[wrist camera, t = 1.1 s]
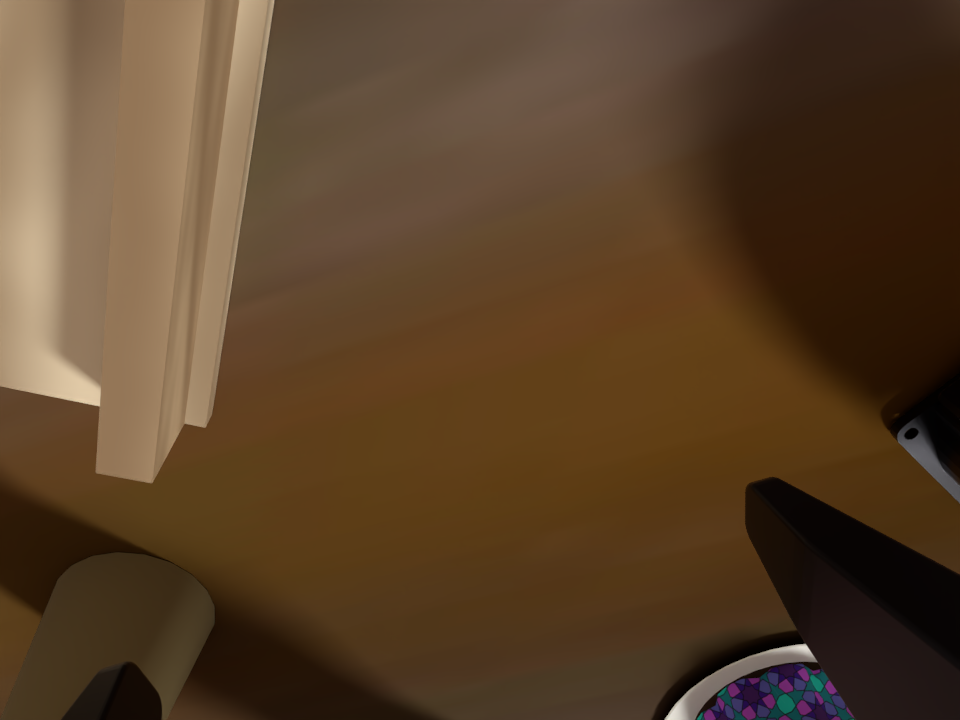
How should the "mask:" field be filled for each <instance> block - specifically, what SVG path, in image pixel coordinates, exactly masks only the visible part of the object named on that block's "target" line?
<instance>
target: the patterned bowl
mask: <svg viewBox="0 0 960 720" xmlns="http://www.w3.org/2000/svg"><path fill="white" fill-rule="evenodd" d="M792 662H817V660H816V659H815V657H814V656H813V654H812V653H811V651H810V650H809V648H808V647H807V645H806V644H798V645H792V646H787V647H781V648H776V649H771V650H768V651H765V652H761V653H758V654H755V655H752V656H748V657H746V658H744V659H741V660H739V661H737V662H734V663H732V664H730V665H727V666H725V667H724V668H722V669H720V670H718V671H717V672H715V673H713V674H711V675H710V676H708V677H706V678H705V679H703V680H702V681H701V682H699V683H698V684H697V685H695V686H694V687H693V688H691V689H690V690H689V691H688V692H687V693H686V694H685V695H684V696H683V697H682V698H681V699H680V700H679V701H678V702H677V703H676V704H675V705H674V707H673V708H672V709H671V711H670V712H669V714H668V715H667V717H666V718H665V720H695V719H696V717H697V714H698V712H699V711H700V710H701V708H702V707H703V706H704V704H705V703H706V702H707V701H708V700H709V699H710V698H711V697H712V696H713V695H714V694H715V693H716V692H718V691H719V690H720V689H722V688H723V687H724V686H726V685H727V684H729V683H731V682H733V681H734V680H736V679H738V678H740V677H742V676H744V675H747V674H749V673H751V672H754V671H756V670H760V669H763V668H766V667H770V666H774V665H779V664H784V663H792ZM697 720H855V718H854V717H853V715H852V714H851V712H850V711H849V709H848V707H847V706H846V704H845V703H844V701H843V700H842V698H841V697H840V695H839V694H838V692H837V691H836V689H835V688H834V686H833V685H832V683H831V682H830V680H829V679H828V677H827V676H826V674H825V673H824V671H823V670H822V669H820V670H815V671H812V670H811V669H809V668H808V667H806V666H805V665H803V664H786V665H782V666H778V667H774V668H771V669H770V670H769V671H767V672H766V673H765V674H763V675H762V676H761V677H760V678H748V679H740V680H738V681H736V682H734V683H732V684H730V685H728V686H727V687H725V688H724V689H723V690H722V691H721V692H720V693H719V694H718V695H717V701H716V705H715V706H713V707H711V708H710V709H708V710H706V711H704V712H702V713H701V714H700V716H699V717H698V719H697Z"/></svg>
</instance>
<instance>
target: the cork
mask: <svg viewBox="0 0 960 720" xmlns="http://www.w3.org/2000/svg"><path fill="white" fill-rule="evenodd" d="M214 624H215V606H214V604H213V602H212V600H211V598H210V596H209V594H208V591H207V590H206V589H205V588H204V587H203V586H202V585H201V584H200V583H199V582H198V581H197V579H196V578H195V577H194V576H193V575H192V574H190V573H188V572H186V571H185V570H183V569H181V568H179V567H178V566H176V565H174V564H172V563H171V562H168V561H165V560H161V559H158V558H155V557H152V556H148V555H145V554H134V553H122V552H115V553H108V554H102V555H95V556H91V557H89V558H87V559H84V560H82V561H80V562H78V563H75V564H73V565H71V566H70V567H69V568H68V569H67V570H66V571H65V572H64V573H63V574H62V575H61V576H60V577H59V578H58V580H57V582H56V585H55V587H54V590H53V592H52V594H51V597H50V599H49V602H48V604H47V607H46V609H45V611H44V614H43V616H42V619H41V621H40V624H39V626H38V629H37V631H36V633H35V636H34V638H33V641H32V643H31V646H30V648H29V650H28V653H27V655H26V658H25V660H24V663H23V665H22V667H21V670H20V672H19V675H18V677H17V680H16V682H15V685H14V687H13V689H12V692H11V694H10V697H9V699H8V702H7V704H6V706H5V709H4V711H3V714H2V716H1V719H0V720H61V718H62V717H63V716H64V714H65V713H66V712H67V711H68V709H69V708H70V707H71V705H72V704H73V703H74V701H75V700H76V699H77V698H78V696H79V695H80V694H81V692H82V691H83V690H84V689H85V687H86V686H87V685H88V683H89V682H90V681H91V680H92V678H93V677H94V676H95V675H96V673H97V672H98V671H100V670H101V669H103V668H105V667H108V666H111V665H115V664H118V663H122V662H125V661H131V662H133V663H135V664H136V665H137V666H138V667H139V668H140V670H141V671H142V672H143V673H144V675H145V676H146V677H147V678H148V680H149V681H150V682H151V684H152V685H153V686H154V687H155V689H156V690H157V691H158V693H159V695H160V698H161V702H162V720H166V719H167V717H168V715H169V713H170V711H171V709H172V707H173V705H174V703H175V701H176V699H177V697H178V696H179V694H180V692H181V690H182V688H183V686H184V684H185V682H186V680H187V678H188V676H189V674H190V672H191V670H192V668H193V666H194V664H195V662H196V660H197V658H198V656H199V654H200V652H201V650H202V648H203V646H204V644H205V642H206V640H207V638H208V636H209V634H210V632H211V630H212V628H213V626H214Z"/></svg>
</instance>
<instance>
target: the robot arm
mask: <svg viewBox="0 0 960 720" xmlns="http://www.w3.org/2000/svg"><path fill="white" fill-rule="evenodd" d="M909 429H910V430H909ZM907 430H909V431H908V432H906V431H907ZM905 432H906V433H905ZM891 434H892V436H893V437H894V438H895V439H896V440H897V441H898V442H899V443H900V444H901V445H902V446H903V447H904V448H905V449H906V450H907V451H908V452H909V453H910V454H911V455H912V456H913V457H914V458H915V459H916V460H917V461H918V462H919V463H920V464H921V465H922V466H923V467H924V468H925V469H926V470H927V471H928V472H929V473H930V474H931V475H932V476H933V477H934V478H935V479H936V480H937V481H938V482H939V483H940V484H941V485H942V486H943V487H944V488H945V489H946V490H947V491H948V492H949V493H950V494H951V495H952V496H953V497H954V498H955V499H956V500H957V501H958V502H959V503H960V374H958V375H957V376H956V377H954V378H953V379H952V380H950V381H949V382H948V383H946V384H945V385H944V386H942V387H941V388H940V389H938V390H937V391H936V392H934V393H933V394H932V395H930V396H929V397H928V398H926V399H925V400H924V401H922V402H921V403H920V404H918V405H917V406H915V407H914V408H913V409H911V410H910V411H909V412H907V413H906V414H905V415H903V416H902V417H901V418H899V419H898V420H897V421H896V422H895V423H894V424H893V426H892V428H891ZM745 524H746V529H747V533H748V535H749V538H750V540H751V542H752V544H753V546H754V548H755V550H756V552H757V553H758V555H759V557H760V559H761V561H762V563H763V565H764V567H765V569H766V571H767V573H768V575H769V577H770V579H771V581H772V583H773V585H774V587H775V588H776V590H777V592H778V594H779V596H780V598H781V600H782V602H783V604H784V606H785V608H786V610H787V612H788V614H789V616H790V618H791V619H792V621H793V623H794V625H795V627H796V629H797V630H798V632H799V634H800V636H801V637H802V639H803V640H804V642H805V644H806V645H807V647H808V648H809V650H810V651H811V653H812V654H813V656H814V657H815V659H816V660H817V662H818V663H819V665H820V667H821V668H822V670H823V671H824V673H825V674H826V676H827V677H828V679H829V680H830V682H831V683H832V685H833V686H834V688H835V689H836V691H837V692H838V694H839V695H840V697H841V698H842V700H843V701H844V703H845V704H846V706H847V707H848V709H849V711H850V712H851V714H852V715H853V717H854V718H855V720H960V574H958V573H956V572H954V571H952V570H950V569H948V568H946V567H945V566H943V565H941V564H939V563H937V562H935V561H933V560H931V559H929V558H928V557H926V556H924V555H922V554H920V553H918V552H916V551H914V550H913V549H911V548H909V547H907V546H905V545H903V544H901V543H899V542H898V541H896V540H894V539H892V538H890V537H888V536H886V535H884V534H882V533H881V532H879V531H877V530H875V529H873V528H871V527H869V526H867V525H866V524H864V523H862V522H860V521H858V520H856V519H854V518H852V517H850V516H849V515H847V514H845V513H843V512H841V511H839V510H837V509H835V508H834V507H832V506H830V505H828V504H826V503H824V502H822V501H820V500H818V499H817V498H815V497H813V496H811V495H809V494H807V493H805V492H803V491H802V490H800V489H798V488H796V487H794V486H792V485H790V484H788V483H787V482H785V481H783V480H781V479H779V478H775V477H769V478H765V479H762V480H758V481H755V482H751V483H749V484H748V485H747V487H746V492H745ZM61 720H162V702H161V698H160V695H159V693H158V691H157V690H156V689H155V687H154V686H153V685H152V684H151V682H150V681H149V680H148V678H147V677H146V676H145V675H144V673H143V672H142V671H141V670H140V668H139V667H138V666H137V665H136V664H135V663H133V662H131V661H125V662H122V663H118V664H115V665H111V666H108V667H105V668H103V669H101V670H100V671H98V672H97V673H96V675H95V676H94V677H93V678H92V680H91V681H90V682H89V683H88V685H87V686H86V687H85V689H84V690H83V691H82V692H81V694H80V695H79V696H78V698H77V699H76V700H75V701H74V703H73V704H72V705H71V707H70V708H69V709H68V711H67V712H66V713H65V714H64V716H63V717H62V718H61Z"/></svg>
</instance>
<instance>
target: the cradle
mask: <svg viewBox="0 0 960 720" xmlns="http://www.w3.org/2000/svg"><path fill="white" fill-rule="evenodd" d="M273 7H274V0H0V386H2V387H7V388H12V389H17V390H22V391H27V392H32V393H37V394H42V395H47V396H51V397H56V398H61V399H66V400H71V401H76V402H81V403H86V404H91V405H96V406H100V412H99V428H98V444H97V460H96V473H99V474H104V475H109V476H115V477H120V478H126V479H131V480H137V481H142V482H147V483H153V481H154V479H155V477H156V475H157V473H158V472H159V470H160V468H161V466H162V464H163V462H164V460H165V459H166V457H167V455H168V453H169V451H170V449H171V447H172V446H173V444H174V442H175V440H176V438H177V436H178V434H179V433H180V431H181V429H182V427H183V425H184V423H185V424H190V425H195V426H200V427H206V425H207V423H208V421H209V419H210V417H211V415H212V411H213V405H214V398H215V391H216V385H217V378H218V372H219V365H220V358H221V352H222V345H223V338H224V332H225V325H226V318H227V312H228V305H229V299H230V292H231V285H232V279H233V272H234V265H235V259H236V252H237V246H238V239H239V232H240V226H241V219H242V212H243V206H244V199H245V193H246V186H247V179H248V173H249V166H250V159H251V153H252V146H253V140H254V133H255V126H256V120H257V113H258V106H259V100H260V93H261V87H262V80H263V73H264V67H265V60H266V53H267V47H268V40H269V34H270V27H271V20H272V14H273Z"/></svg>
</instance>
